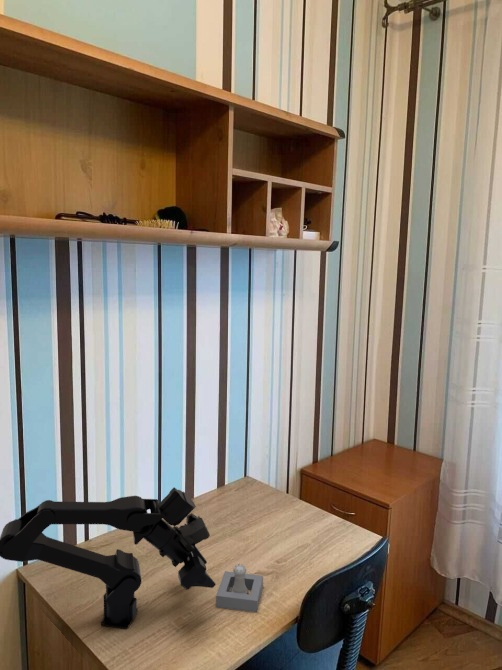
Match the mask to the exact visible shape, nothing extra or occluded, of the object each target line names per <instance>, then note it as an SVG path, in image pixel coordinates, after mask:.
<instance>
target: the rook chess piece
mask: <svg viewBox="0 0 502 670" xmlns="http://www.w3.org/2000/svg"><path fill="white" fill-rule="evenodd" d="M247 571H248V570H247V568H246V566H245V565H244V564H241V565H240V563H238V564H236V565H235V566H234V568H233V570H232V572H234V573H235V575H234V578H235V582H234V586H233V588H230V592H234V593H242V594H249V590H248V589H247V588H246V585H245V574H247Z"/></svg>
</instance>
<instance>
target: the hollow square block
mask: <svg viewBox="0 0 502 670" xmlns="http://www.w3.org/2000/svg"><path fill="white" fill-rule="evenodd" d="M234 575H235V573H234V572H233V571H227V570H224V572H223V575H222V579H221V581H220V584H219V587H218V589H217V592H216V595H215V608H221V609H228V610H233V611H234V610H235V611H242V612H249V613H258V610H259V605H260V601H261V597H262V592H263V587H264V576H263V575H260V574H252V573H245V585H246V588H247V589H248V591H250V594H249V593H248V594H242V593H234V592H231V589H232V588H233V586H234V582H235V578H234Z"/></svg>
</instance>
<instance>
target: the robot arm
mask: <svg viewBox="0 0 502 670" xmlns="http://www.w3.org/2000/svg"><path fill="white" fill-rule="evenodd" d="M159 501H160V500H159V499H158V498H157V499H156V498H142V497H141V496H138V495H130V496H124V497H123V496H122V497H118V498H116V499H113V500H111V501H54V500H50V499H47V500H43V501H42V502H41V503H40V504H38V505H37V506H36V507H34V508H33V509H30V510H27V511H26V512H25V513H24V514H23V515H21V516H20V517H19V518H17V519H14V520H12V521H11V520H10V521H9V522H8V523H6V524H5V525H4V526H3V528H2V531H1V534H0V558H1V559H3V560H5V561H6V560H7V561H14V562H20V563H25V562H29V561H41V562H44V563H48V564H51V565H54V566H58V567H61V568H64V569H67V570H71V571H74V572H75V573H76V572H77V573H79V574H84V575H86V576H87V575H88V576H90V577H94V578H97V579H99V580H100V581H101V582H103V583H104V584H105V593H104V595H103V618H102V620H101V621H100V626H102V625H104V626H105V627H108V628H109V627H110V628H117V629H118V628H119V629H125V630H127V629H128V628H129V627H130V625H131V623H132V622H133V621H134V619H135V618H136V616H137V613H138V608H137V607H138V606H137V603H138V602H137V601H138V600H137V598H136V596H135V592H137V591H138V589H139V588H141V585H142V574H141V567H140V563H139V562H140V561H139V560H138V559H137V558H136V557H135V556H134V555H133V553H132V552H125V551H123V550H121V549H120V548H119V549H116V550H115V554H112V555H111V554H109V555H106V554H105V555H104V554H101V553H99V552H95V551H92V550H89V549H86V548H83V547H80V546H76V545H74V544H70V543H68V542H64V541H61V540H58V539H56V538H52V537H49V536H47V535H45V534H44V533H43V532H44V531H45V530H46V529H47V528H48V527H50V526H51V525H105V526H110V527H112V528H114V529H118V530H120V531H121V530H122V531H127V532H132V534H133V536H132V537H133V543H134V545H138V544H139V543H140V542H141V541H142V540H143V539H144V540H145V541H146V542H148V543H149V544H150V545H151V546H152V547H154V548H155V549H156V550H158V552H159V555H160V556H161V557H162V558H164V557H167V559H168V560H170V561H171V564H172V566H173V567H174V568H177V567H178V565H181V564H182V563H183V566H182V567H181V568H179V570H177V571H178V572H177V574H178V575H177V578H178V581H179V584H180V585H179V586H181V587H182V588H183V589H185V590H186V591H187V590H190V589H191V588H192V587H193V588H195V587H196V588H197V587H199V588H201V587H202V588H209V589H214V587H215V586H216V585H217V584H216V582H215V581H214V579H213V578H212V577H211V576H210V575H209V574H208V573H207V565H206V564H207V560H206V559H205V557H204V556H203V554H202V553H201V551H200V550H199V549H198V547H197V544H199V543H201V542H203V541H205V540H208V539H209V538H210V537H211V536H210V531H209V530H208V527H207V526H206V523H205V521H204V520H203V518H202V517H201V516H200V515H198V516H197V515H195V514H194V513H192V511H193V510H194V509H196V508H197V506H196V504H195V502H194V501H193V499H192V498H191V497H190V496H189V495H188V494H187V493H186V492H185V491H182V490H181V489H177V488H176V487H172V488H171V490H169V493H168V494H167V495H166V496H165V497H164V498H163V499H162V500H161V501H160V502H159ZM148 510H149V511H150V512H148ZM185 518H186V519H185ZM184 520H186V521H185V522H186V523H184V524H183V525H180V524H181V523H182V522H183V521H184ZM179 525H180V526H179ZM104 626H103V627H104Z"/></svg>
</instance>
